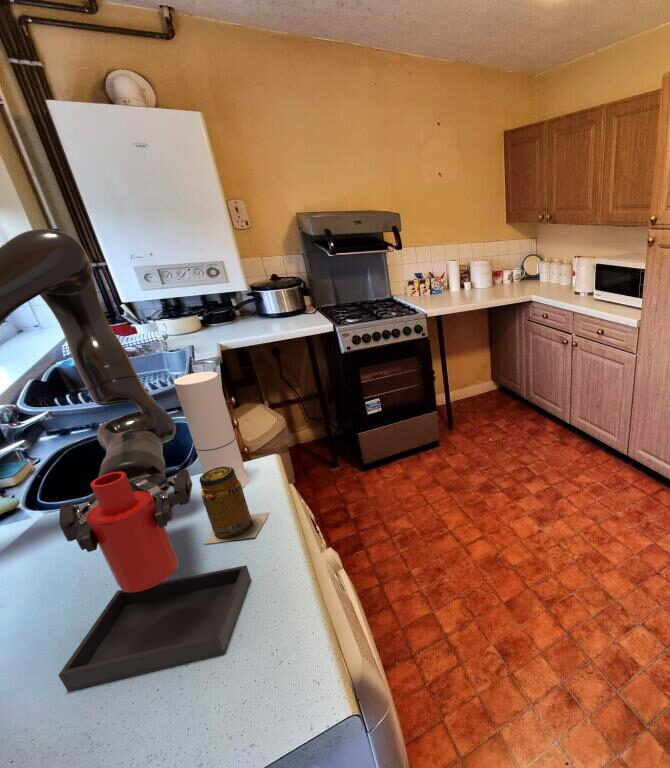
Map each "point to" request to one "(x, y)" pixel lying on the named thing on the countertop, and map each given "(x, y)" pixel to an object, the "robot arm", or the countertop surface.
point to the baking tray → (159, 628)
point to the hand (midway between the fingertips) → (126, 532)
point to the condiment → (228, 507)
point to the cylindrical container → (210, 422)
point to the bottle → (130, 534)
